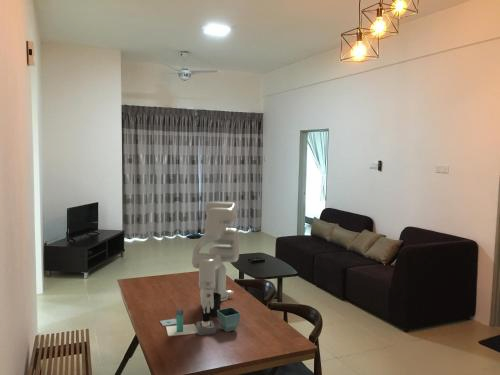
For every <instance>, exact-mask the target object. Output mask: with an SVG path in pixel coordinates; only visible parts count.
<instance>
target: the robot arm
mask: <svg viewBox="0 0 500 375" xmlns="http://www.w3.org/2000/svg"><path fill="white" fill-rule="evenodd" d="M205 211H206V219H205V220H206V221H205V227H204V234H203V235H202V236H201V237H200V238H198V240H197V241H196V242H195V244H194V247H193V249H192V250H193V252H192V256H191V257H192V258H191V265H192V267H193V268H194V269H198V288H199V289H200V304H201V307H202V319H201V321H203V322H206V321H211V320H210V319H211V316H210V307H211V309H213V308H214V296H213V293H219V294H221V302H224V301H227V300H228V299H229V295H234V293H235V292H234V290H227V289H226V288H227V268H226V264H224V263H225V262H226V263H236V262H238V261H239V258H240V232H239V229H237V228H235V227H227V225H233V223H234V222H235V220H236V216H237V212H238V207H237V204H236V203H235V202H232V201H231V202H230V201H209V202H206V204H205ZM210 243H213V244H214V245H212V246H210V248H209V249H208V253H204V252H201V251H200V250H201V248H203V247H204V246H206V245H208V244H210Z"/></svg>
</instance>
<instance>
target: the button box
mask: <svg viewBox="0 0 500 375" xmlns="http://www.w3.org/2000/svg"><path fill="white" fill-rule="evenodd" d="M202 321H203V320H201V321H196V322H195V326H196V329H197V331H198V333H197V334H198V335H199V336H202V335H212V334H216V326H215V324H214V321H213V320H210V326H209V327H202Z"/></svg>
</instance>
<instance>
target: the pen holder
mask: <svg viewBox="0 0 500 375" xmlns="http://www.w3.org/2000/svg"><path fill="white" fill-rule="evenodd" d="M213 296H214V308H213V309H211V307H210V317H218V316H217V310H221V302H222V301H221V294H219V293H213Z"/></svg>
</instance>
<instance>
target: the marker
mask: <svg viewBox="0 0 500 375" xmlns="http://www.w3.org/2000/svg"><path fill="white" fill-rule="evenodd" d="M175 314H176V316H175V317H176V318H175V319H176V324H175V326H177V332H182V331H183V325H184V309H183V308H176V309H175Z"/></svg>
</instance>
